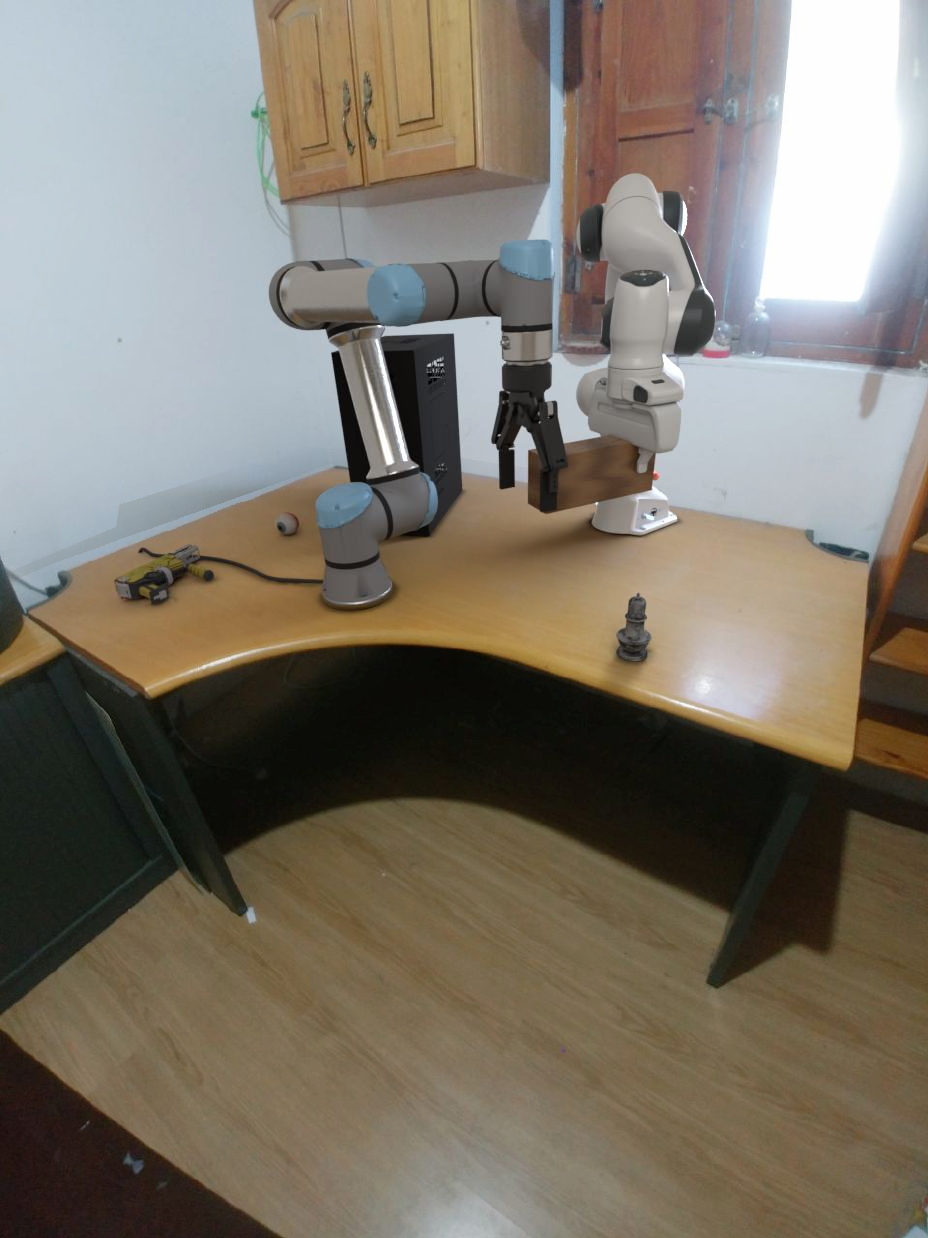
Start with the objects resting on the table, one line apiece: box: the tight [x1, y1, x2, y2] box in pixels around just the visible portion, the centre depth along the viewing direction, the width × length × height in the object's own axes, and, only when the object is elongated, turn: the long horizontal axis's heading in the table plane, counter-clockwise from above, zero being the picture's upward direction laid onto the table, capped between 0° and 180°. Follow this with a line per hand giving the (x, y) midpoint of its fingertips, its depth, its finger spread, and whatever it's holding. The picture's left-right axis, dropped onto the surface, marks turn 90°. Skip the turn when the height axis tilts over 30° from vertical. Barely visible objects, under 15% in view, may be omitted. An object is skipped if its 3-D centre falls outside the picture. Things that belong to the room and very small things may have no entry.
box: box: [527, 435, 657, 515], centre depth 104 cm, size 22×6×9 cm, turn 115°
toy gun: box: [113, 543, 215, 606], centre depth 141 cm, size 5×24×15 cm
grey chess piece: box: [616, 592, 652, 662], centre depth 103 cm, size 6×6×12 cm
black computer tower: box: [330, 332, 463, 537], centre depth 165 cm, size 38×20×45 cm, turn 167°
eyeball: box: [275, 511, 300, 536], centre depth 163 cm, size 6×6×6 cm
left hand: (526, 498), depth 101 cm, fingers open, 13 cm apart
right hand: (626, 466), depth 107 cm, fingers closed on box, 6 cm apart
